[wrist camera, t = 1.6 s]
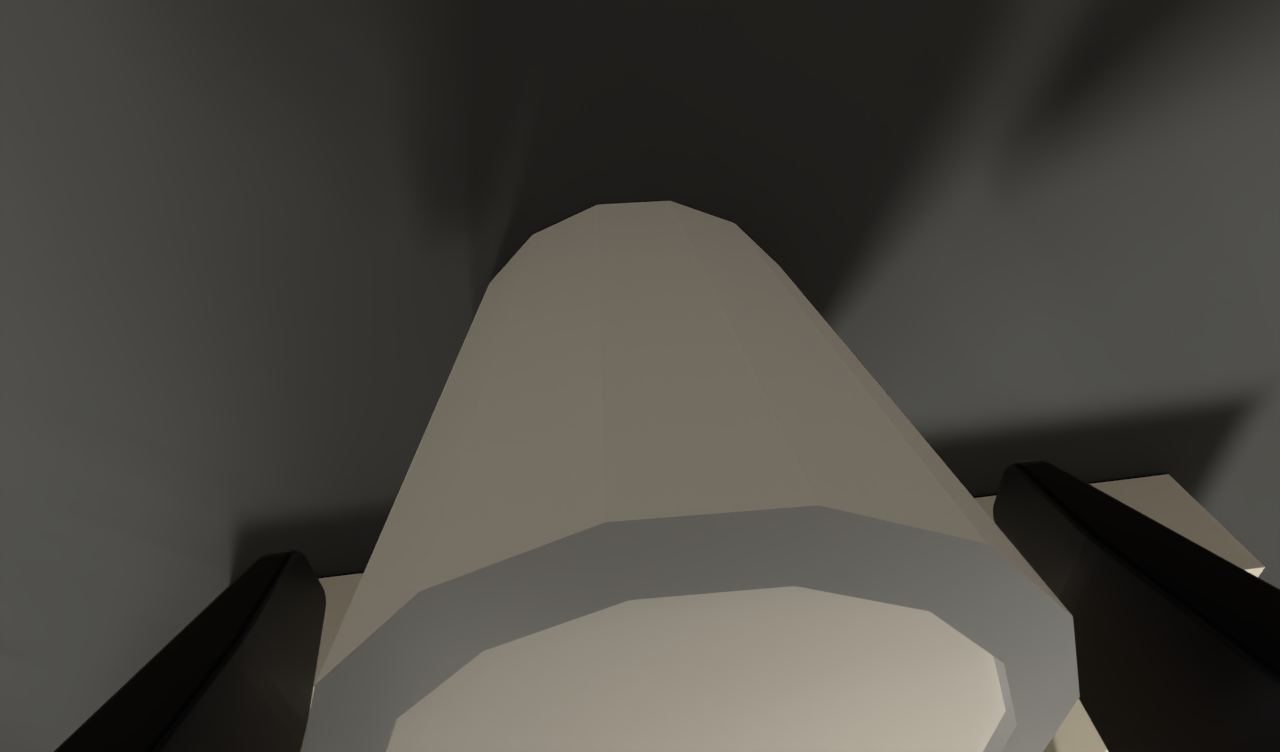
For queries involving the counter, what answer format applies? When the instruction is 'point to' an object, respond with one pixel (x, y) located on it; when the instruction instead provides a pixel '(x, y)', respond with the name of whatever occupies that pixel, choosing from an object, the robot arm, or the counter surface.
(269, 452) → the counter surface
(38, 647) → the counter surface
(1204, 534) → the holder
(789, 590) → the white and grey cylinder
